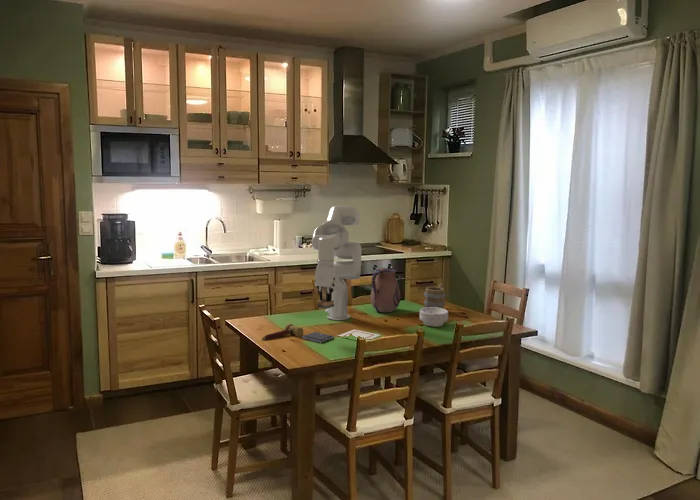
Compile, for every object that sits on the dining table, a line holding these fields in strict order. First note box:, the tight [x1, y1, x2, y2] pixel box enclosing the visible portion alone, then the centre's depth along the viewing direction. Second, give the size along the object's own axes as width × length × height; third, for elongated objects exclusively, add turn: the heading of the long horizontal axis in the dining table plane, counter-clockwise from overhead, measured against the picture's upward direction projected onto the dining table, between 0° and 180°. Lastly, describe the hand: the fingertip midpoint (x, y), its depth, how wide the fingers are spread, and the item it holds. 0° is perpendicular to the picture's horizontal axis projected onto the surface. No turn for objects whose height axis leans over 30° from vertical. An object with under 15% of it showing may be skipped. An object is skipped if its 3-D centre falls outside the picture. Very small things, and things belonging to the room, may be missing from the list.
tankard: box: [423, 283, 446, 309], centre depth 334 cm, size 20×13×15 cm, turn 150°
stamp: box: [316, 287, 334, 310], centre depth 273 cm, size 6×6×10 cm
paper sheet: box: [337, 328, 381, 340], centre depth 280 cm, size 16×15×1 cm
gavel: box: [261, 323, 304, 341], centre depth 277 cm, size 21×5×10 cm
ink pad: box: [301, 331, 335, 344], centre depth 275 cm, size 12×10×2 cm
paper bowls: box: [418, 306, 449, 328], centre depth 303 cm, size 15×15×8 cm
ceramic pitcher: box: [370, 267, 401, 313], centre depth 329 cm, size 18×21×25 cm
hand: (325, 300), depth 273 cm, fingers closed on stamp, 3 cm apart
